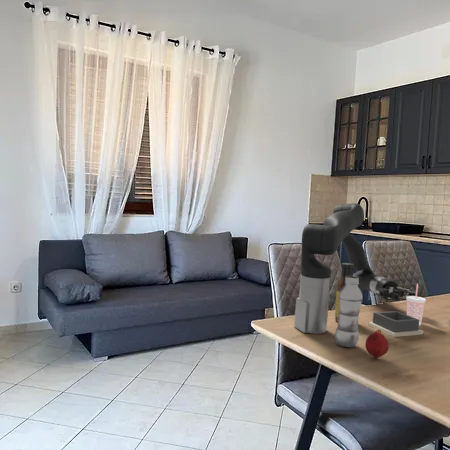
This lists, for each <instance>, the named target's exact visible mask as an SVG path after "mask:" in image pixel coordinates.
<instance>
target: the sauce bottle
mask: <svg viewBox="0 0 450 450" xmlns="http://www.w3.org/2000/svg"><path fill="white" fill-rule="evenodd" d="M340 267H341V273H340V275H341V277H340V278H339V280H337V284H336V286H337V287H336V292H335V293H336V294H335V307H334V308H335V309H334V311H335V312H334V317H335V321H336V322H337V323H338V320H339V293H340V291H341V289H342V288H343V287H344V286H345V284H346V283H345V276H353V274H354V270H353V269H354V264H350V262H349V263H348V262H342V263H341V266H340Z"/></svg>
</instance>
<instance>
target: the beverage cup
mask: <svg viewBox="0 0 450 450" xmlns="http://www.w3.org/2000/svg"><path fill="white" fill-rule="evenodd" d="M418 289H419V283H416V286H415V291H416V296H407V297H406V296H405V297H406V298H407V299H406V315H408V316H411V317H413V318H416V319H419V326H421V325H422V320H423V314H424V308H425V303H426V301H427V300H426V298H424V297H422V296H421V297H417V291H418ZM418 292H419V291H418Z"/></svg>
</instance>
